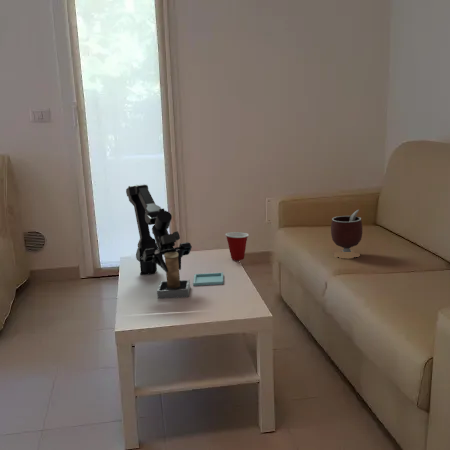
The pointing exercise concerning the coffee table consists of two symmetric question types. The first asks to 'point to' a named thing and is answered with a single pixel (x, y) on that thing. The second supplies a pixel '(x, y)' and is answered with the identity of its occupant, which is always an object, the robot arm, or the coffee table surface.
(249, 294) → the coffee table surface
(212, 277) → the tray
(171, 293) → the holder
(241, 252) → the plastic cup
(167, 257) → the canister
